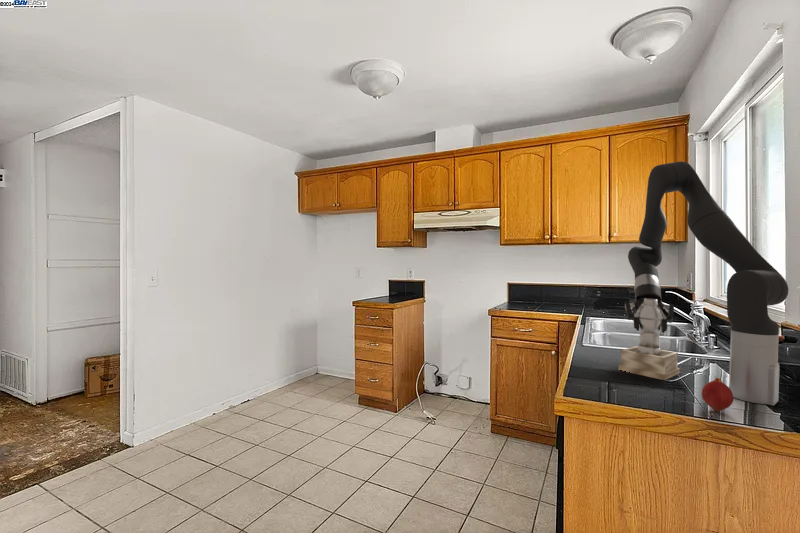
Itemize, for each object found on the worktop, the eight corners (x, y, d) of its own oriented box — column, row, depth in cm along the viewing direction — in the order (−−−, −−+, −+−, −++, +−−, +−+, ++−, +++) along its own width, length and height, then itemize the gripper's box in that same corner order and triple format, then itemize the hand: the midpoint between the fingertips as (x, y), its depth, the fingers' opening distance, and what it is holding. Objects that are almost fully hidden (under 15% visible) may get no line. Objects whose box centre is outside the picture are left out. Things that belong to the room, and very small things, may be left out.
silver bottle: (646, 358, 131) (648, 297, 130) (665, 363, 125) (668, 300, 124) (631, 359, 129) (633, 298, 128) (650, 364, 122) (652, 300, 122)
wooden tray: (679, 373, 125) (680, 352, 125) (664, 380, 117) (665, 358, 117) (635, 364, 136) (635, 345, 135) (618, 370, 127) (619, 350, 127)
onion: (696, 405, 96) (698, 372, 96) (725, 408, 95) (726, 375, 95) (707, 414, 91) (708, 379, 91) (737, 417, 89) (739, 382, 89)
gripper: (624, 282, 136) (625, 321, 126) (674, 283, 130) (680, 325, 119) (622, 296, 141) (623, 334, 130) (671, 298, 134) (676, 339, 124)
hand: (650, 330), depth 125 cm, fingers closed on silver bottle, 6 cm apart
